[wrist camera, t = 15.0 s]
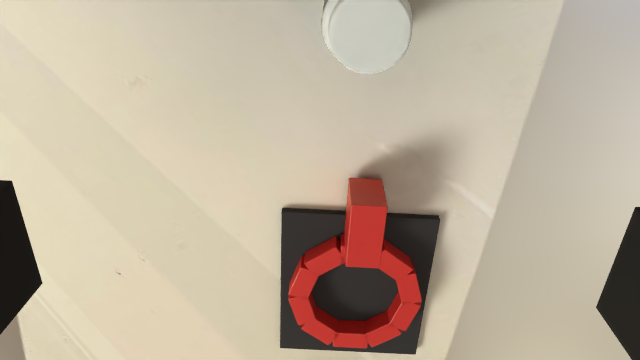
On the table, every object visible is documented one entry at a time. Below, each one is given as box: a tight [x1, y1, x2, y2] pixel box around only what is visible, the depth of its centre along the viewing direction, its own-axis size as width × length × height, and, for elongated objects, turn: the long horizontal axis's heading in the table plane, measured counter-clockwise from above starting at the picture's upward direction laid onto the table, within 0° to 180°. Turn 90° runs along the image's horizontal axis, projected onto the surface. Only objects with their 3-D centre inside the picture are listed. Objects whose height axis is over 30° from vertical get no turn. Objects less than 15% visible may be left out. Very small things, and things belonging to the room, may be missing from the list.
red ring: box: [288, 178, 422, 348], centre depth 37 cm, size 15×11×4 cm
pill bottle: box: [321, 0, 413, 74], centre depth 27 cm, size 5×5×8 cm
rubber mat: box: [280, 208, 440, 354], centre depth 40 cm, size 12×14×1 cm
